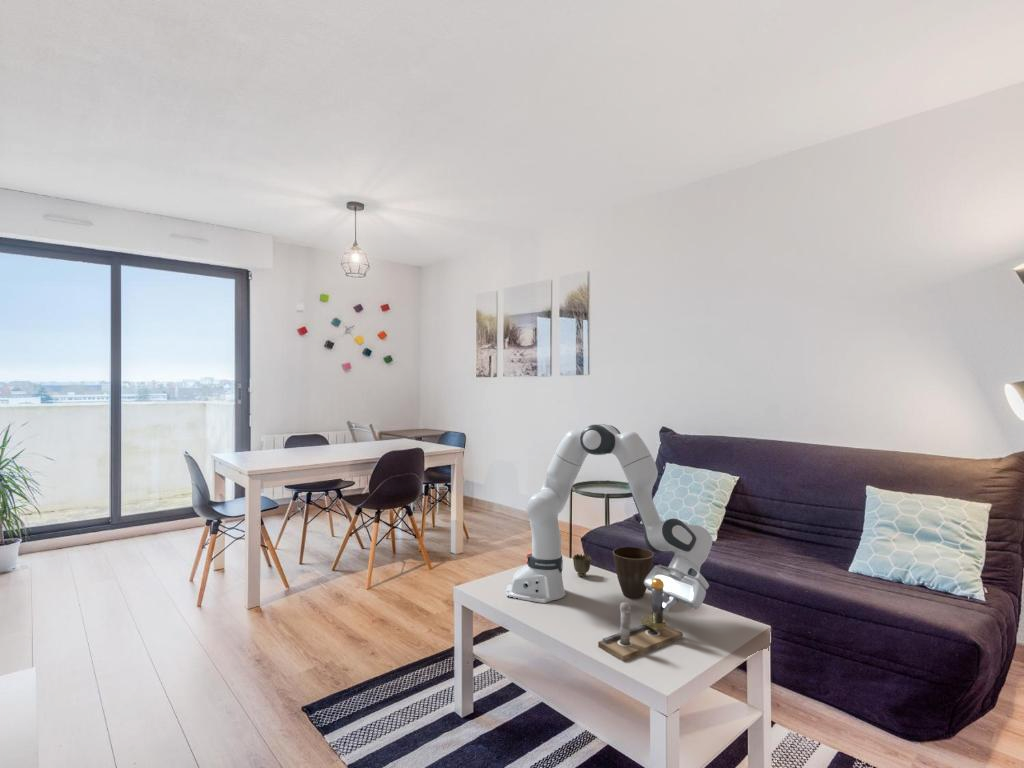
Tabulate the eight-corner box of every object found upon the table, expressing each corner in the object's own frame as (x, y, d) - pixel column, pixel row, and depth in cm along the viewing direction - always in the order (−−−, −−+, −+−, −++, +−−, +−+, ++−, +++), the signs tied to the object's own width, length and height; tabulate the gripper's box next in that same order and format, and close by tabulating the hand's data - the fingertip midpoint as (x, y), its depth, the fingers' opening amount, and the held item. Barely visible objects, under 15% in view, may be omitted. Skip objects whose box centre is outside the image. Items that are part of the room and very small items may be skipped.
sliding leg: (650, 622, 164) (651, 573, 164) (667, 630, 158) (667, 579, 159) (641, 625, 161) (641, 575, 162) (657, 633, 156) (657, 581, 156)
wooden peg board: (657, 625, 166) (657, 583, 166) (682, 637, 158) (682, 593, 158) (598, 646, 152) (598, 601, 152) (623, 661, 143) (623, 613, 144)
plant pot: (645, 607, 181) (645, 561, 181) (606, 597, 189) (606, 554, 190) (659, 593, 193) (659, 551, 194) (621, 585, 202) (621, 544, 202)
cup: (587, 580, 207) (587, 560, 207) (570, 577, 210) (570, 557, 210) (593, 574, 213) (593, 555, 213) (576, 571, 217) (576, 552, 217)
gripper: (652, 557, 173) (632, 592, 168) (704, 575, 157) (684, 615, 151) (661, 568, 176) (641, 603, 170) (713, 587, 159) (693, 626, 153)
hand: (662, 609), depth 160 cm, fingers closed, pressing on sliding leg
